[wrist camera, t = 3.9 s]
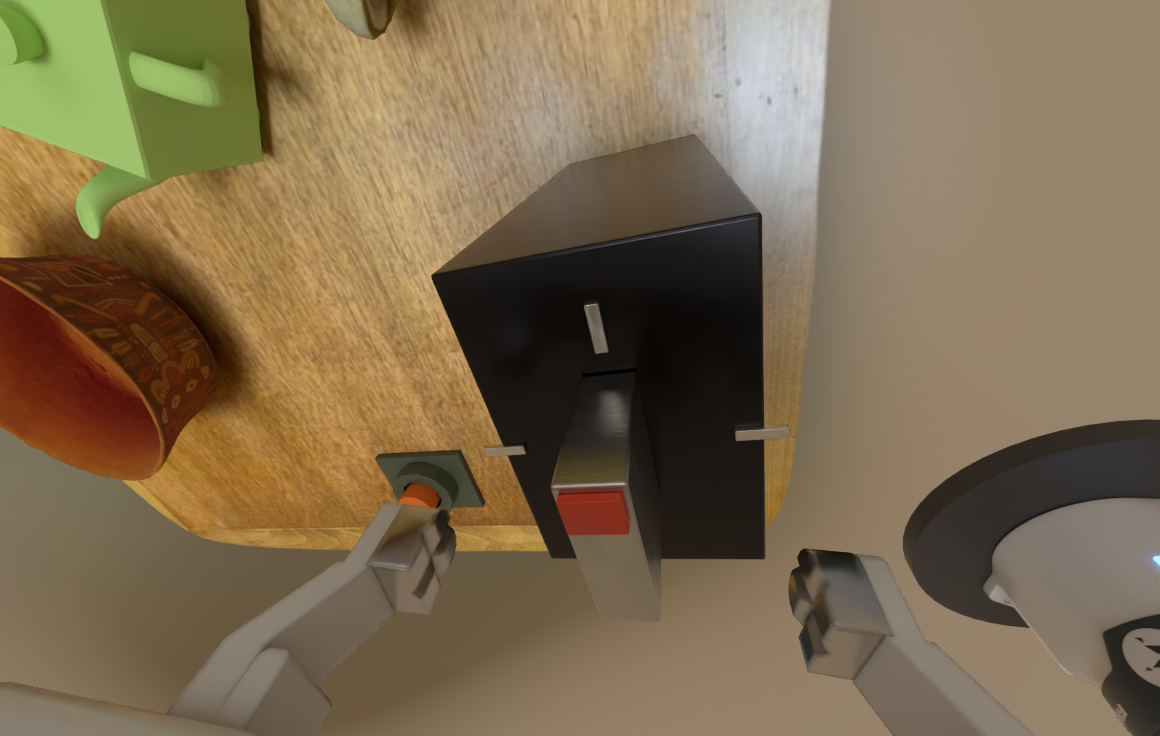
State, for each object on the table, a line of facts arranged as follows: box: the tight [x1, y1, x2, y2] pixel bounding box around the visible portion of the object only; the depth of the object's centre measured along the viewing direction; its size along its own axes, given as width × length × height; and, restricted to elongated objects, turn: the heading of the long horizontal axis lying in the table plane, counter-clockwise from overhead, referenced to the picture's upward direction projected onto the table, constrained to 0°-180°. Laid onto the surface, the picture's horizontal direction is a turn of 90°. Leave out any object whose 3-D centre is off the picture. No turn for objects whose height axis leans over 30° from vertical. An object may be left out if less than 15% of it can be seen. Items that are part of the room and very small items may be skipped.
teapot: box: [0, 0, 263, 239], centre depth 23 cm, size 15×13×11 cm
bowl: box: [0, 255, 217, 481], centre depth 37 cm, size 21×21×10 cm
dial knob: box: [551, 372, 661, 622], centre depth 11 cm, size 5×2×4 cm, turn 13°
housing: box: [375, 451, 485, 512], centre depth 46 cm, size 10×8×2 cm
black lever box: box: [431, 134, 789, 559], centre depth 21 cm, size 12×9×20 cm
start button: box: [398, 483, 440, 508], centre depth 44 cm, size 4×4×2 cm
